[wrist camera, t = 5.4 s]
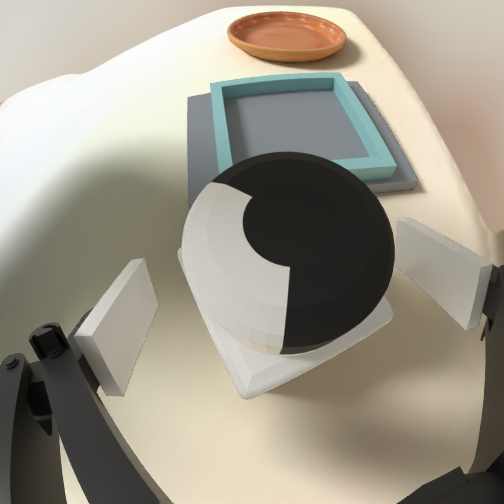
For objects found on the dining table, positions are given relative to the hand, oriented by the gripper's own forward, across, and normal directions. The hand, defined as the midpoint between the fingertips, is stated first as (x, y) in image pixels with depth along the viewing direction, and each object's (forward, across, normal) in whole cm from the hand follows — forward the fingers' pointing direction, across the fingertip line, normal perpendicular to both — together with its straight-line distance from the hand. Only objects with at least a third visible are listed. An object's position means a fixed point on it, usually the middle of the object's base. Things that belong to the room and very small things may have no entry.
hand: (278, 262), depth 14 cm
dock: (+13, +4, +6) cm, 15 cm away
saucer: (+28, +8, +20) cm, 35 cm away
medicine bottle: (+2, 0, -5) cm, 6 cm away
